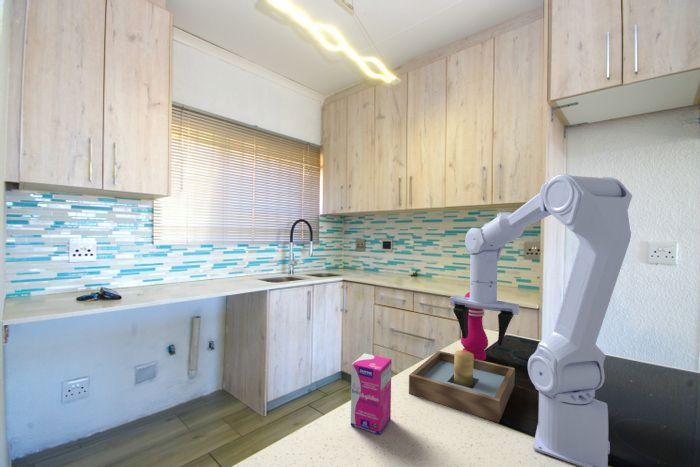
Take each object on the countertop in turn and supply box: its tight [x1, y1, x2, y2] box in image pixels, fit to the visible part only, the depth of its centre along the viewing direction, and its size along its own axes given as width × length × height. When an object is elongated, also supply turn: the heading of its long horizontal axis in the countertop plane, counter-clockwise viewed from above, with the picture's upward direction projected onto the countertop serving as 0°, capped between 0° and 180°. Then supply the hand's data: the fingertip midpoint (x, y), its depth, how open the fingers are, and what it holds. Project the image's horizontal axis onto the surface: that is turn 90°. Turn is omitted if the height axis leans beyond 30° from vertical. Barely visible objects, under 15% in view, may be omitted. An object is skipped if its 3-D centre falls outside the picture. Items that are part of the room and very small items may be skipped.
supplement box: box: [350, 353, 393, 435], centre depth 59 cm, size 6×6×12 cm
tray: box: [408, 350, 516, 423], centre depth 72 cm, size 18×18×4 cm
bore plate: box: [423, 361, 505, 397], centre depth 72 cm, size 16×16×2 cm
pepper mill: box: [460, 291, 489, 361], centre depth 91 cm, size 7×7×20 cm
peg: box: [454, 350, 474, 389], centre depth 72 cm, size 4×4×8 cm
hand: (482, 340), depth 74 cm, fingers open, 7 cm apart
